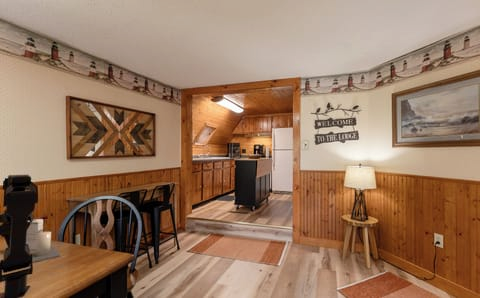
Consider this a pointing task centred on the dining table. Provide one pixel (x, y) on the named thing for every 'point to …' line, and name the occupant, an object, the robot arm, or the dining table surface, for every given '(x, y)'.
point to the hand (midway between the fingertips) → (15, 244)
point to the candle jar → (43, 243)
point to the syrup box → (34, 232)
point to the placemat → (52, 254)
